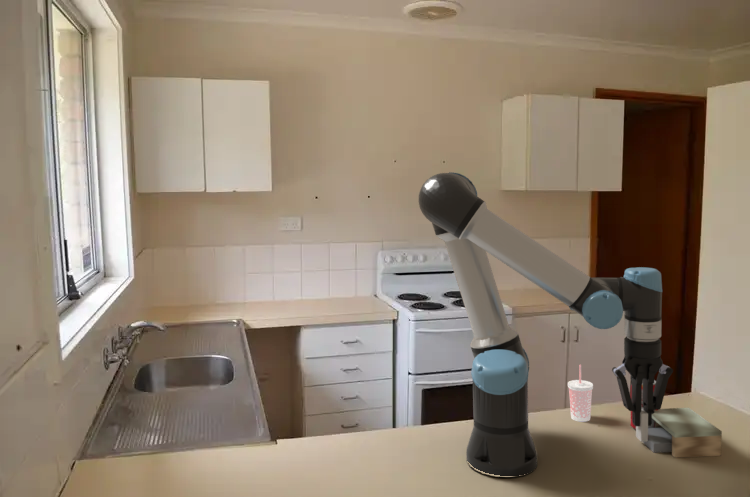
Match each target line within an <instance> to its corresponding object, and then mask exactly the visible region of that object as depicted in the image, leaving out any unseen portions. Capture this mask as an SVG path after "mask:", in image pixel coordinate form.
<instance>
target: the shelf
mask: <svg viewBox="0 0 750 497" xmlns="http://www.w3.org/2000/svg"><path fill="white" fill-rule="evenodd" d="M652 418H653V419H654V420H655V421H656V424H655V428H664V429H665V430H667V431H668V432H669V433H670V434H671V435H672V452H671V456H672V457H673V458H694V457H695V458H697V457H699V458H700V457H715V456H716V457H718V456H722V433H723V431H722V430H720V428H718V427H717V426H715V425H714V424H712V423H711V422H710V421H708V420H707V419H705V418H704V417H703V416H701V415H700V414H699V413H697V412H696V411H694V410H693V409H691V407H676V408H675V407H673V408H672V407H671V408H661V409H659V410H657V411H654V414H652Z"/></svg>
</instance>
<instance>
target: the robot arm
mask: <svg viewBox="0 0 750 497" xmlns="http://www.w3.org/2000/svg"><path fill="white" fill-rule="evenodd" d="M418 205H419V210H420V211H421V214H422V215H423V216H424V218H426V220H427V221H429V222H431V225H432V227H433V230H434V233H435V237H436V238H438V239H440V240H442V241H443V242H444V244H445V247H446V251H447V253H448V257H449V260H450V263H451V267H452V269H453V273H454V276H455V279H456V283H457V286H458V290H459V293H460V296H461V299H462V302H463V305H464V309H465V312H466V315H467V318H468V321H469V325H470V327H471V330H472V335H473V338H472V340H471V342H470V349H471V353H472V355H473V361H472V366H471V374H470V376H471V378H472V399H473V400H472V406H473V407H472V410H473V428H472V431H471V433H470V436H469V440H468V443H467V445H466V446H467V447H466V462H467V461H468V462H469V463H470V464H471V465H472V466H473V467H474V468H476V469H478V470H480V471H483V472H485V473H489V474H494V475H500V476H519V475H524V474H527V473H529V474H530V472H531V471H532V472H533V470H534V469H535V470H536V468H537V467H538V452H537V449H536V446H535V444H534V441H533V437H532V434H531V432H530V429H529V371H530V360H529V356H528V354H527V352H526V350H525V349H524V347H523V345H522V342H521V338H520V335H519V333H518V330H516V329H514V328H512V327H511V326H509V325H510V324H509V321H508V318H507V315H506V312H505V308H504V305H503V303H502V302H503V301H502V299H501V296H500V293H499V290H498V286H497V282H496V279H495V276H494V272H493V270H492V267H491V263H490V259H489V258H488V257H489V256H488V254H489V255H490V256H492V257H494V258H496V259H497V260H499V261H500V262H501V263H503V264H505V265H506V266H507V267H509V268H510V269H512V270H514V271H515V272H516V273H518V274H519V275H521V276H522V277H524V278H526V279H527V280H528V281H529V282H531V283H533V284H535V285H536V286H538V287H539V288H541V289H542V290H543V291H545V292H546V293H548V294H549V295H551V296H553V297H554V298H556V299H557V300H559V302H561V303H563V304H564V305H566V306H568V308H569V309H570V310H571V311H574V312H576V313H577V314H579V315H580V316H582V317H583V318H584V320H585V321H586V322H587V323H588V324H589V325H590V326H591V327H593V328H595V329H598V330H608V329H611V328H614V327H615V326H617V325H618V324H620V321H621V320H622V318H623V315H624V318H623V319H624V321H623V322H624V325H623V330H624V331H623V332H624V334H623V335H624V336H625V337H624V339H623V342H624V343H623V351H624V356H623V359H622V361H621V364H620V365H619V366H617V367H616V366H614V367H612V369H611V371H612V373H613V374H614V376H615V377H616V381H617V384H618V389H619V392H620V397H621V400H622V404H623V407H625V408H626V409H627V410H628V411H629V412H631V411H632V422H633V424H634V425H635V426H636V430H635V437H636V438H637V440H639V441H640V442H642V443H643V442H647V441H648V426H651V424H652V414H654V410H656V409H657V410H659V409H662V404H663V401H664V397H665V393H666V390H667V385H668V382H669V378H670V377H671V376H672V375H673V372H674V369H673V368H672V367H670V366H668V365H667V364H664V363H663V359H662V358H661V357H662V356H661V355H662V340H661V337H662V309H663V308H662V305H663V303H662V302H663V301H662V300H663V282H662V280H663V279H662V273H661V271H659V270H658V269H657V268H653V267H644V266H643V267H642V266H641V267H640V266H639V267H629V268H626V269H624V274H623V277H622V276H620V277H591V276H589V275H587V274H586V273H585V272H583V271H581V270H580V269H579V268H577V267H576V266H574V265H573V264H571V263H569V262H568V261H567V260H565V259H564V258H562V257H560V256H559V255H557V254H556V253H555V252H553V251H552V250H551V249H548V248H547V247H545V246H544V245H542V244H541V243H540V242H538V241H536V240H535V239H533V238H532V237H531V236H529V235H527V234H525V233H524V232H523V231H521V230H520V229H518V228H517V227H516V226H514V225H512V224H511V223H509V222H508V221H507V220H505V219H503V218H501V217H500V216H499V215H498V214H495V213H494V211H493V212H492V211H491V210H490V209H488V205H487V203H486V201H485V200H484V199H481V198H480V197H479V196H478V192H477V189H476V186H475V185H474V184H473V181H471V180H470V179H469V178H468V177H466V176H465V175H463V174H461V173H459V172H451V171H449V172H440V173H436V174H434V175H432V176H430V177H429V178H428V179H426V180H425V182H424V183H423V184H422V185H421V187H420V190H419V193H418ZM487 253H488V254H487ZM626 371H627V372H628V374H629V375H630V380H631V384H630V389H629V385H628V380H627V378H626V375H627V373H626ZM656 374H657V377H656V380H655V376H656ZM654 380H655V381H656V384H655V388H654V392H653V383H654ZM642 383H643V408H644V410H643V409H641V396H642ZM535 470H534V471H535ZM532 472H531V473H532ZM527 475H528V474H527ZM524 476H525V475H524Z"/></svg>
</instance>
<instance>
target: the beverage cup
mask: <svg viewBox="0 0 750 497" xmlns="http://www.w3.org/2000/svg"><path fill="white" fill-rule="evenodd" d="M578 366H579V367H578V368H579V369H578V372H579V373H578V374H579V376H578V379H573V380H570V381H567V387H568V392H569V407H570V418H571V420H573V421H576V422H584V423H585V422H588V421H590V420H591V412H592V396H593V394H592V393H593V389H594V384H593V382H591V381H589V380H583V379H582V364H579V365H578Z"/></svg>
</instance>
